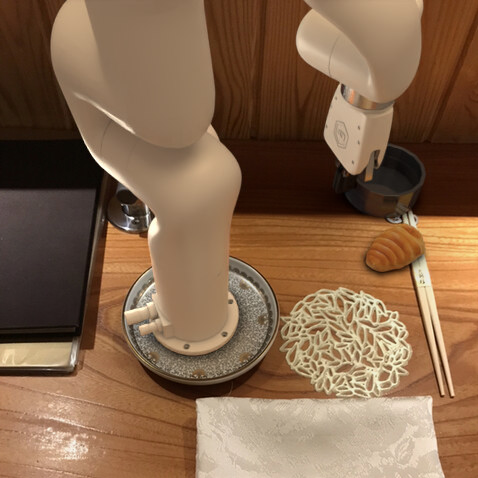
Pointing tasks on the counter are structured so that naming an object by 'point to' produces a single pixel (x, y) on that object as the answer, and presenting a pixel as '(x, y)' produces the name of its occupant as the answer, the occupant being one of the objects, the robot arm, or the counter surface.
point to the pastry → (395, 248)
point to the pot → (390, 185)
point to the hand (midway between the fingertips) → (342, 188)
